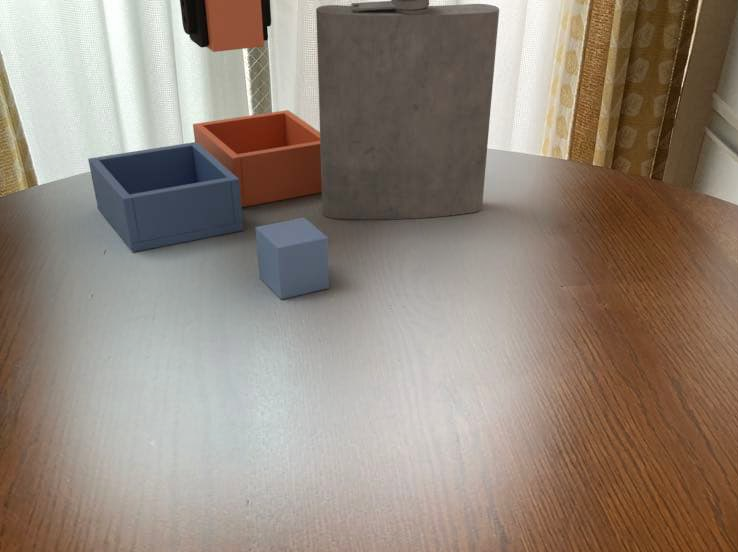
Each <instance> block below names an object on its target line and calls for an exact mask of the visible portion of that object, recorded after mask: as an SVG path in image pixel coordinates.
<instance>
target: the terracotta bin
mask: <svg viewBox="0 0 738 552" xmlns="http://www.w3.org/2000/svg"><path fill="white" fill-rule="evenodd" d="M192 129H193V137H194V142H198V143H199V144H200V145H201V146H202V147H203V148H204V149H206V150H207V151H208V152H209V153H210V154H211V155H212V156H213V157H215V158H216V159H217V160H218V161H219V162H220V163H221V164H222V165H224V166H225V167H226V168H227V169H228V170H229V171H230V172H231V173H233V174H234V175H235V176H236V177H237V178H238V179H239V186H240V197H241V208H245V207H251V206H256V205H262V204H267V203H272V202H273V203H274V202H277V201H278V202H279V201H282V200H284V201H285V200H288V199H293V198H294V199H295V198H298V197H299V198H300V197H305V196H310V195H315V194H322V181H321V148H320V130H318V129H316V128H314V127H313V126H312V125H311V124H309V123H308V122H306V121H305V120H303V119H302V118H300V117H299V116H298V115H296V114H295V113H293V112H292V111H290V110H289V109H287V110H280V111H273V112H266V113H259V114H253V115H251V114H250V115H246V116H239V117H230V118H224V119H217V120H211V121H203V122H197V123H192Z"/></svg>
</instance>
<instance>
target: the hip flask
mask: <svg viewBox="0 0 738 552" xmlns="http://www.w3.org/2000/svg"><path fill="white" fill-rule="evenodd" d="M315 10H316V11H315V14H316V16H315V17H316V45H317V46H316V47H317V48H316V50H317V78H318V79H317V80H318V81H317V84H318V111H319V113H318V115H319V132H320V148H321V181H322V192H321V208H322V209H321V211H322V214H323V216H325V217H326V218H330V219H335V220H336V219H337V220H360V221H361V220H363V221H364V220H365V221H366V220H367V221H369V220H373V221H374V220H376V221H377V220H407V219H426V218H439V217H450V215H451V216H459V215H465V214H466V213H467V214H473V212H474V213H478V212H480V211H481V210H482V209H483V200H484V189H485V177H486V167H487V153H488V144H489V132H490V121H491V120H490V119H491V109H492V100H493V99H492V97H493V87H494V86H493V85H494V76H495V63H496V53H497V52H496V50H497V39H498V31H499V30H498V29H499V18H500V16H499V15H500V8H499V7H498V6H496V5H492V4H486V3H466V4H448V5H447V4H445V5H443V4H442V5H430V0H384V1H383V0H381V1H366V2H365V1H364V2H352V3H351V5H346V4H345V5H341V4H329V5H328V4H327V5H326V4H325V5H321V6H318V7H317V8H316V9H315ZM477 211H478V212H477ZM458 214H459V215H458Z"/></svg>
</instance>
